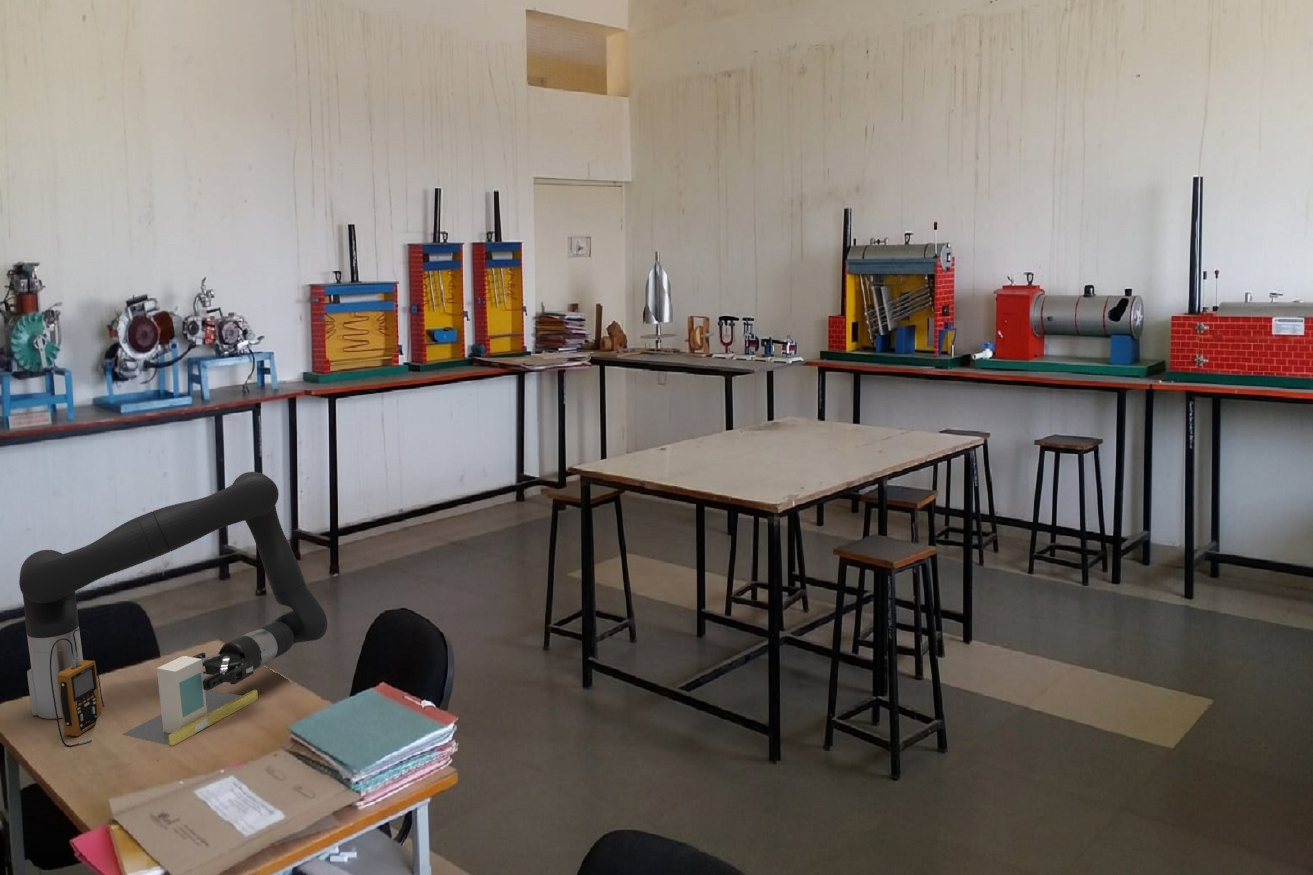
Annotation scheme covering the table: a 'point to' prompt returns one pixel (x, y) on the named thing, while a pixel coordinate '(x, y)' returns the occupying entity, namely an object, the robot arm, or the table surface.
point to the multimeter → (78, 694)
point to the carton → (181, 692)
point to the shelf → (216, 710)
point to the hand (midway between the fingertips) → (187, 682)
